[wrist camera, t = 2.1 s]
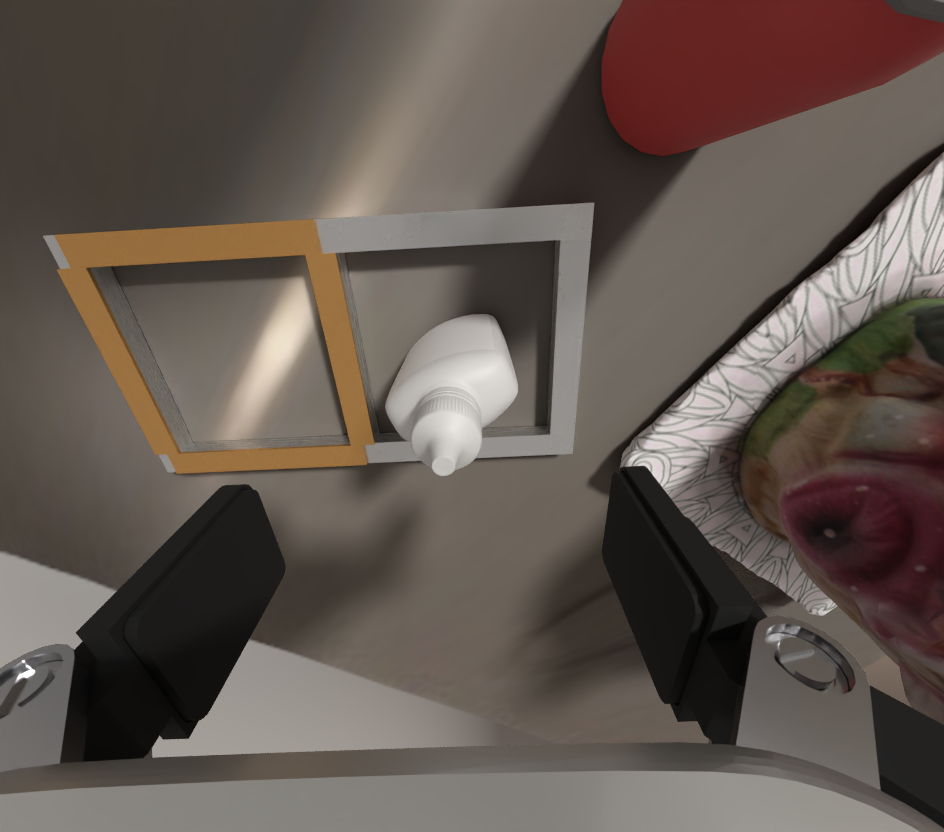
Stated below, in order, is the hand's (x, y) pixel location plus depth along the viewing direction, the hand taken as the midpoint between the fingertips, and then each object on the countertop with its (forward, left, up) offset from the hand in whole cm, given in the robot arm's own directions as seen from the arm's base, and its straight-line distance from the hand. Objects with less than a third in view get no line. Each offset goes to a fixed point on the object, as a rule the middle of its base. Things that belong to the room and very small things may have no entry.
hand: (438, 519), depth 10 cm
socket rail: (-1, -6, -14) cm, 15 cm away
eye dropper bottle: (-1, 0, -14) cm, 14 cm away
